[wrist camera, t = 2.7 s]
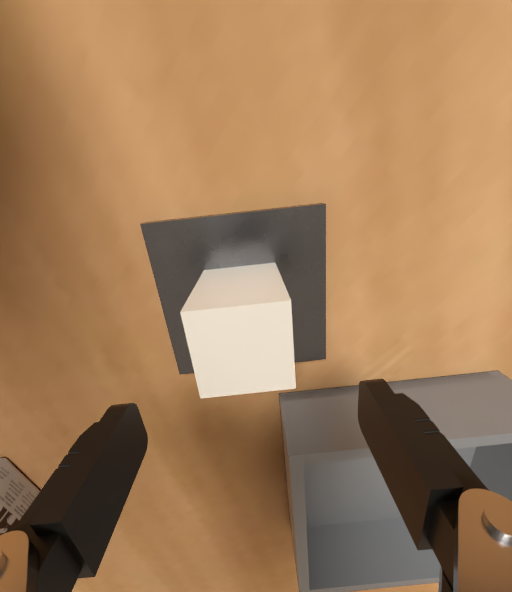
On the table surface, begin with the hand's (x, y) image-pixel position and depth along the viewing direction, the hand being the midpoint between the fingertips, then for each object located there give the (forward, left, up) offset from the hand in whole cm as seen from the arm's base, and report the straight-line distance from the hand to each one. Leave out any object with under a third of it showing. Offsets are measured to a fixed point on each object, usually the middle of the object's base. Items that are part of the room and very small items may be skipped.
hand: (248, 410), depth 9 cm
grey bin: (+12, -20, -11) cm, 26 cm away
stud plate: (0, 0, -11) cm, 11 cm away
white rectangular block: (0, 0, -10) cm, 10 cm away
